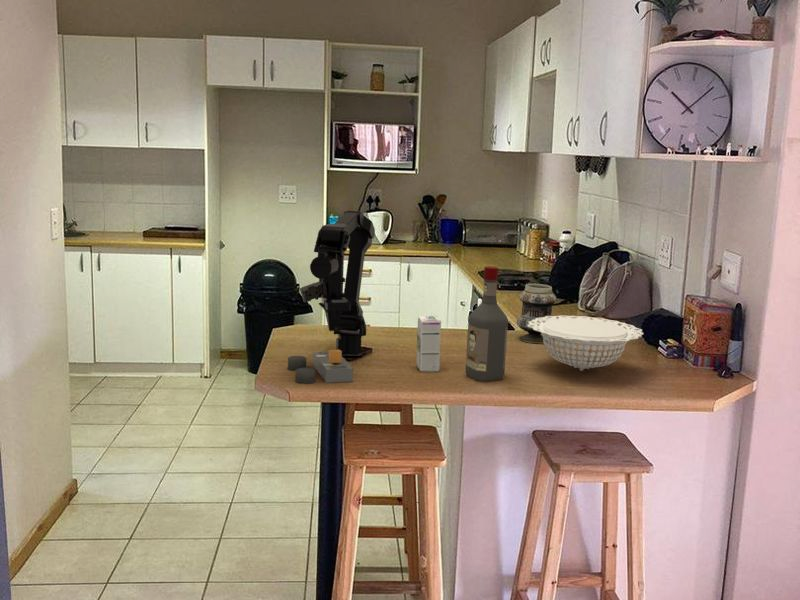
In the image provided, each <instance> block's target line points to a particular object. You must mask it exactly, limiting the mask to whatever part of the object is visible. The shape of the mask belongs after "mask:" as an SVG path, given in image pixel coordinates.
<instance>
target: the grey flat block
mask: <svg viewBox="0 0 800 600" xmlns="http://www.w3.org/2000/svg"><path fill="white" fill-rule="evenodd" d="M312 365H313V367H314V368H315V370H317V372H318V374H319V375H320V376H321V378H322V379H323V380H324V382H325V383H327V384H331V383H350V382H353V381H354V380H353V379H354V367H352V365H351V364H350V363H349V362H348V361H347V360H346V359H345V357H342V361H341V363H330V362H329V350H328V351H327V350H326V351H313V352H312Z"/></svg>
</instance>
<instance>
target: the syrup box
mask: <svg viewBox="0 0 800 600" xmlns="http://www.w3.org/2000/svg"><path fill="white" fill-rule="evenodd" d="M441 329H442V321H441V319H440V318H439V317H438V316H436V315H421V316H418V317H417V330H416V331H417V334H416V335H417V336H416V337H417V341H416V364H415V366H416V368H417V369H418V370H419V371H420V372H440V366H441V365H440V364H441V340H442V339H441V336H442V332H441V331H442V330H441Z"/></svg>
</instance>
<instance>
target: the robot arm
mask: <svg viewBox="0 0 800 600" xmlns="http://www.w3.org/2000/svg"><path fill="white" fill-rule="evenodd" d="M375 229H376V228H375V225H374V223H373V221H372V219H369V218H367V217H366V216H365V215H364V212H362V211H361V210H353V209H352V210H350V209H349V210H348V209H347V210H345V211H344V212H343V214H342V216H341V217H339V219H337V221H335V222H334V223H327V224H323V225H322V226H321V228H320V229H319V230H318V234H317V237H316V241H315V245H314V250H313V253H317V256H315V257H314V258H313V259H312V260H311V262H310V264H309V269H310V270H309V271H310V273H311V274H312V276H314V278H316V279H318V281H317V282H313V283H309V284H308V285H305V286H302V287H300V288H299V292H300V295H301V297H302V300H303V301H304V303H309V302H311V301H312V300H314V299H315V300H316V301H317V300H319V299H321V302H318V305H319V306H320V308H322V309H323V311H324V313H325V318H326V324H327V326H328V327H327V328H328V331H329V332H333V334H334V335H337V337H336V339H335V342H336V343H335V350H341V351H342V354H357V353H361V355H360V356H361V357H363V354H362V337H364V336H367V324H366V321H365V317H364V310H363V308H362V306H361V304H360V294H361V287H362V281H363V280H362V278H363V272H364V271H363V269H364V265H365V264H364V261H365V256H366V252H367V251H368V250H369V248H371V247H372V243H373V240H374V238H375V236H376V235H375V233H376V232H375V231H376V230H375ZM347 251H348V259H347V266H346V274H345V277H344V268H345V267H344V263H345V252H347Z"/></svg>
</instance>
